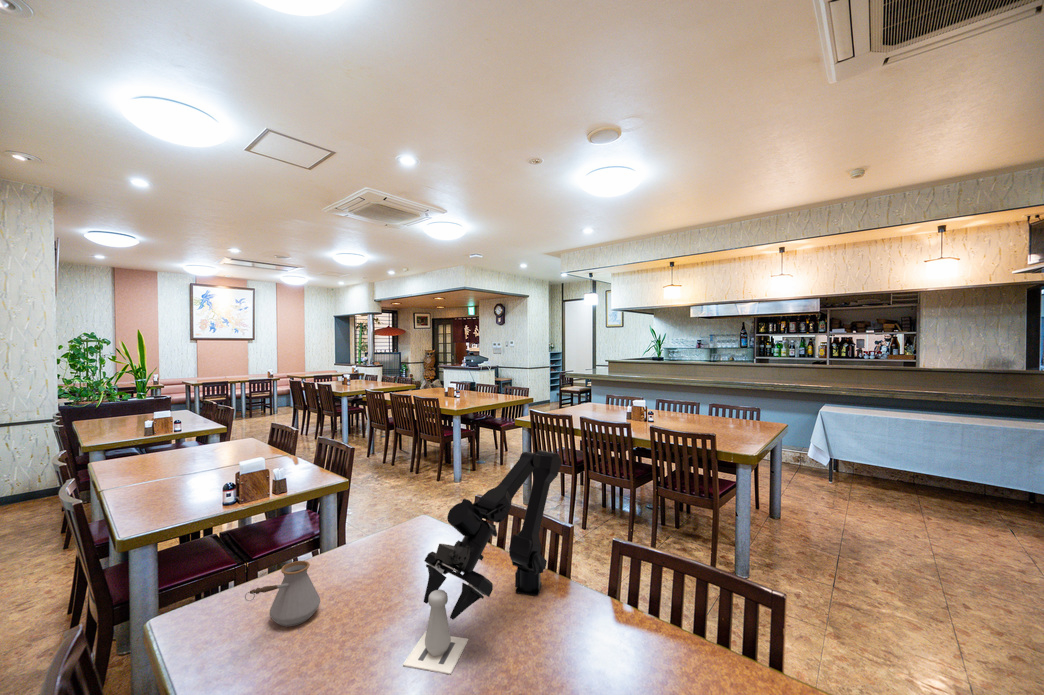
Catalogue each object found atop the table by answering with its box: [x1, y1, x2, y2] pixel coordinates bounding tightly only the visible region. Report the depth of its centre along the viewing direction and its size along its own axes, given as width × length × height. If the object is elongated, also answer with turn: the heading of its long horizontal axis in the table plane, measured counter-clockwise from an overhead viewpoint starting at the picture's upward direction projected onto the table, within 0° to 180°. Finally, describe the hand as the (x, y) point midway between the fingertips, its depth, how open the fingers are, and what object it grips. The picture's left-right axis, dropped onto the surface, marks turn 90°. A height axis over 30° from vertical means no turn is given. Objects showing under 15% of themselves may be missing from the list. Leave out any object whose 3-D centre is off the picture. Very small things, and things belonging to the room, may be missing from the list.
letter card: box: [402, 631, 469, 675], centre depth 98 cm, size 11×11×1 cm
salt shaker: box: [425, 589, 452, 657], centre depth 98 cm, size 6×6×13 cm
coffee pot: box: [244, 560, 321, 627], centre depth 105 cm, size 21×12×15 cm, turn 171°
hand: (437, 610), depth 98 cm, fingers open, 9 cm apart
